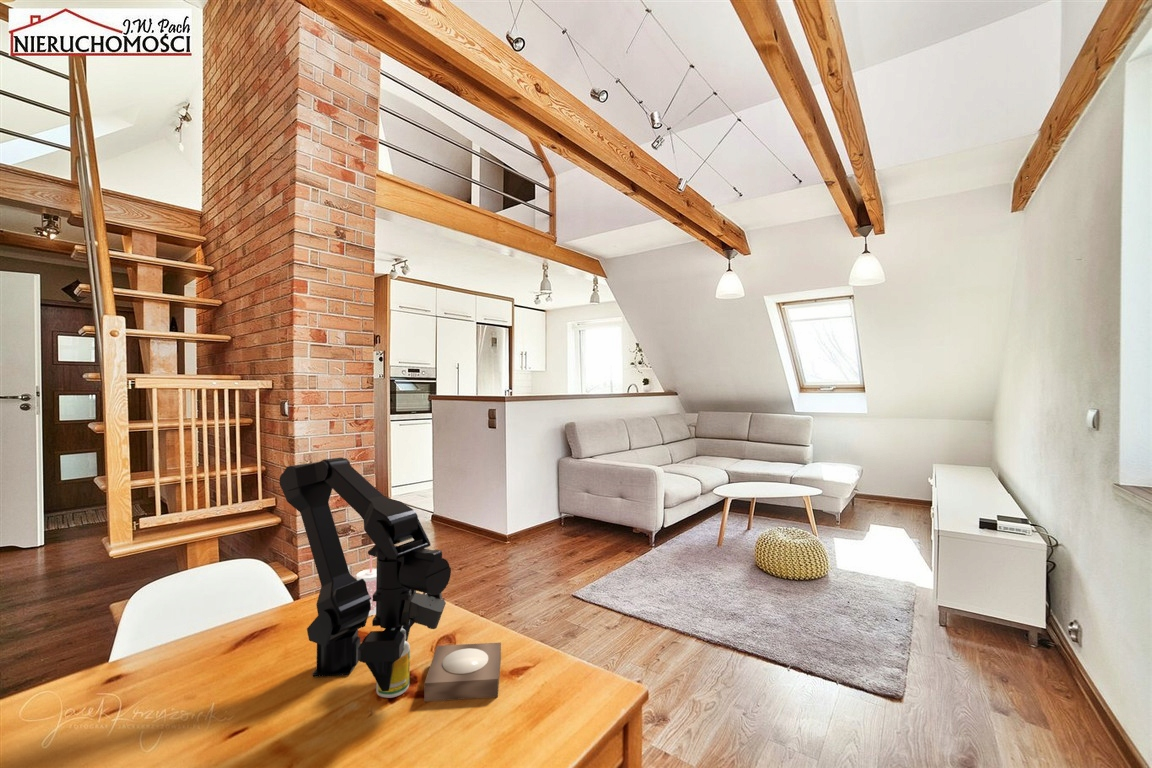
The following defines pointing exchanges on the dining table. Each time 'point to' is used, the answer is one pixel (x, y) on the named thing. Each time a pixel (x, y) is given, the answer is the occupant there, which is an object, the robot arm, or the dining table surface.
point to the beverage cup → (369, 584)
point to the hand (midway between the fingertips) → (393, 674)
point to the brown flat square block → (463, 672)
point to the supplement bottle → (398, 674)
